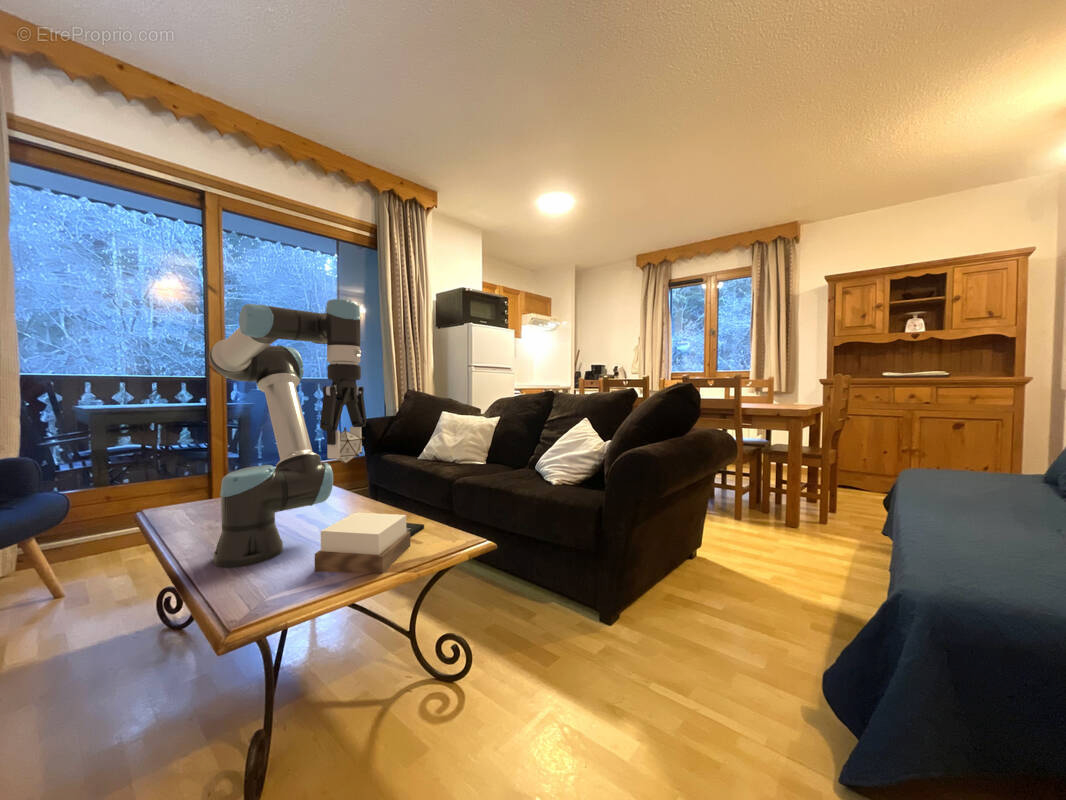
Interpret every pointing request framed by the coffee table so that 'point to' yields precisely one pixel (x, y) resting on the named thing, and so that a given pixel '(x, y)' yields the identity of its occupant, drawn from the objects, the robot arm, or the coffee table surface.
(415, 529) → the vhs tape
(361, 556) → the walnut slab
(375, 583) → the coffee table surface
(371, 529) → the cream slab
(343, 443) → the game die
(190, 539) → the coffee table surface
